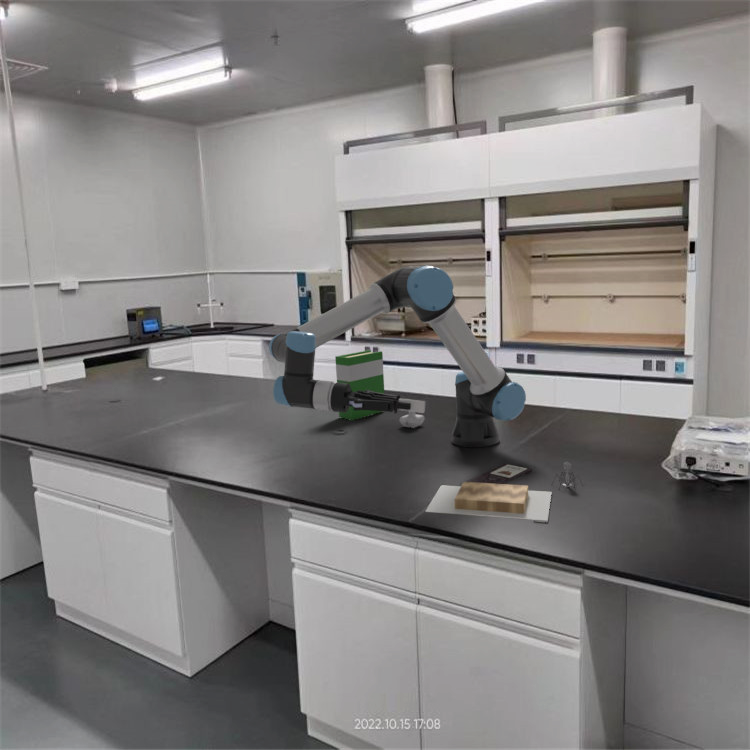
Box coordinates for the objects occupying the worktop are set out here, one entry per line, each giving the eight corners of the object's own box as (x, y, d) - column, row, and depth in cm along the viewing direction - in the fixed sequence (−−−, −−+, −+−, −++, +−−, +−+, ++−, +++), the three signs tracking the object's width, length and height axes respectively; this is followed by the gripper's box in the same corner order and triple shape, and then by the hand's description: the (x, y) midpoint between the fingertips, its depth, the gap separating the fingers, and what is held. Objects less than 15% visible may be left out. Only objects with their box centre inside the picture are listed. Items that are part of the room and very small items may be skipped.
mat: (441, 487, 170) (441, 485, 170) (551, 493, 161) (551, 491, 161) (425, 513, 153) (425, 511, 153) (547, 522, 144) (547, 520, 144)
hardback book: (372, 408, 261) (369, 350, 257) (385, 411, 256) (382, 351, 251) (339, 417, 249) (335, 356, 245) (352, 420, 244) (348, 357, 239)
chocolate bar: (466, 481, 171) (503, 463, 184) (466, 484, 171) (504, 466, 184) (495, 488, 165) (532, 469, 178) (495, 492, 165) (532, 472, 178)
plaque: (463, 481, 164) (528, 485, 159) (463, 490, 165) (528, 494, 160) (454, 499, 153) (523, 503, 148) (454, 508, 153) (523, 513, 148)
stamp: (411, 422, 236) (410, 400, 235) (427, 424, 232) (426, 401, 231) (397, 428, 229) (396, 405, 228) (412, 430, 225) (411, 407, 224)
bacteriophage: (546, 488, 166) (546, 463, 164) (562, 479, 171) (563, 455, 170) (571, 494, 161) (571, 468, 159) (587, 485, 166) (587, 460, 165)
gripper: (340, 404, 172) (427, 415, 167) (325, 417, 160) (419, 428, 155) (341, 377, 171) (429, 387, 166) (326, 387, 158) (421, 398, 153)
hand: (424, 407), depth 160 cm, fingers closed
